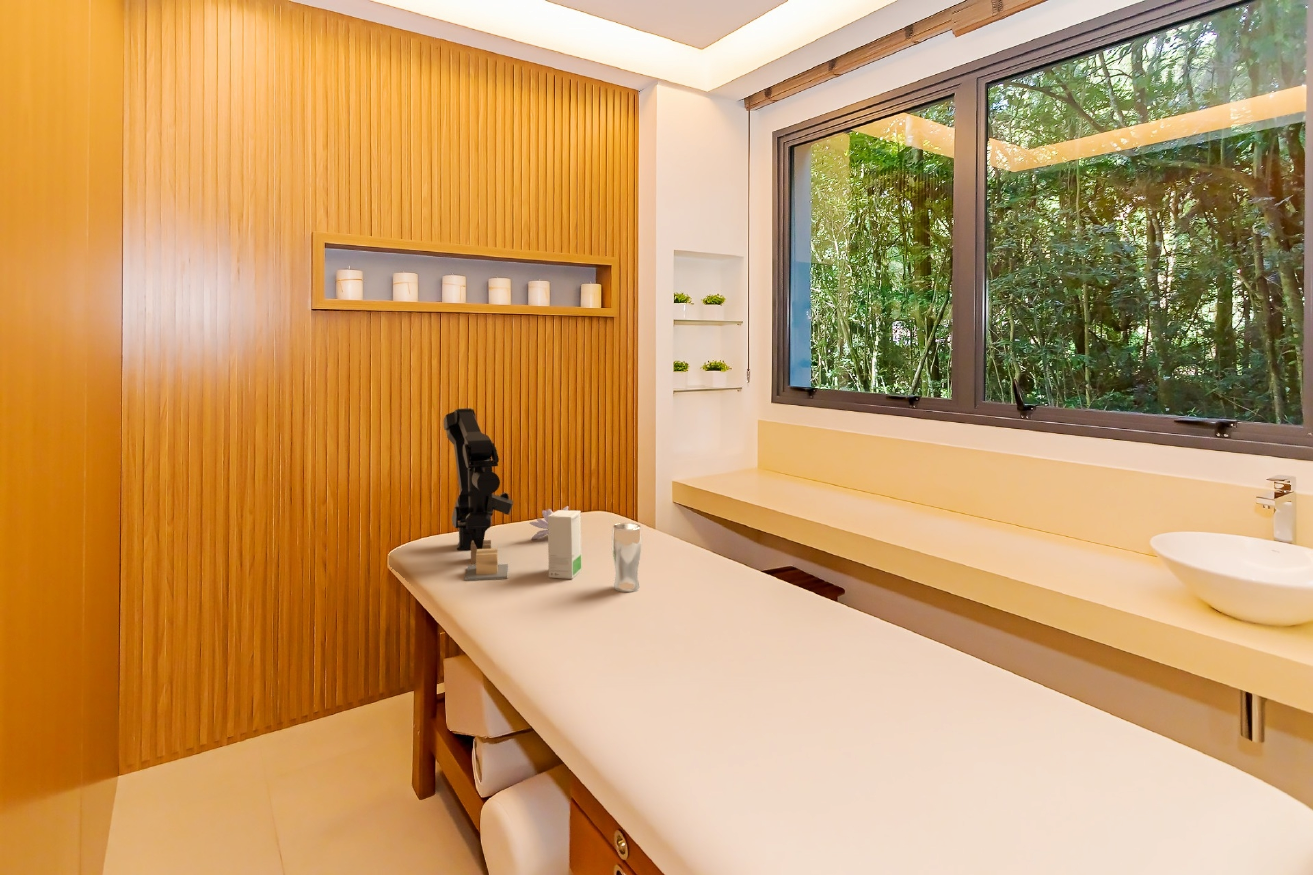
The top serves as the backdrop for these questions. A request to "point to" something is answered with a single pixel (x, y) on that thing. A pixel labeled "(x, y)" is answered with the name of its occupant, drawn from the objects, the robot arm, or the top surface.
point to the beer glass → (626, 555)
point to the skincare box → (564, 544)
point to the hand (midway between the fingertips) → (480, 544)
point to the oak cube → (486, 561)
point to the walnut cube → (474, 549)
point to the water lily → (543, 523)
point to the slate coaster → (472, 574)
